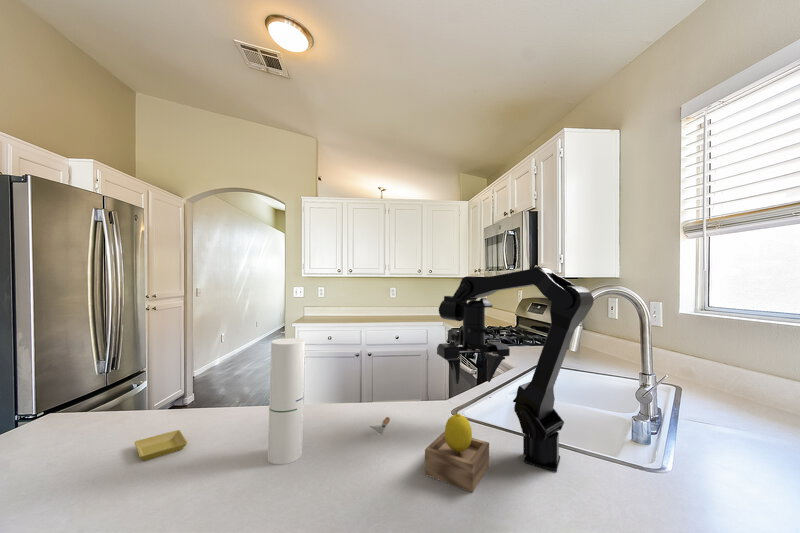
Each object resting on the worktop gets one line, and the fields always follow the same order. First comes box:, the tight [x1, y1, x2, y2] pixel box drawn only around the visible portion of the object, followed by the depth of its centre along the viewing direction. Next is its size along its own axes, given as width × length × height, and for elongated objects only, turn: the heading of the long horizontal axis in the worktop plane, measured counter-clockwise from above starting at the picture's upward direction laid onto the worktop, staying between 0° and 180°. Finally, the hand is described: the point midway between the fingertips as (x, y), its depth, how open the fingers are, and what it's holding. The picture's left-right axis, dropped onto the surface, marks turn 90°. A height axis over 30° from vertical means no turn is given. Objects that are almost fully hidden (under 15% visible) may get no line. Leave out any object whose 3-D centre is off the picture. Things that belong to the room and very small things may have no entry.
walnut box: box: [424, 430, 490, 493], centre depth 67 cm, size 10×10×5 cm
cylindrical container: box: [267, 338, 306, 465], centre depth 72 cm, size 7×7×25 cm
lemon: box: [444, 413, 473, 453], centre depth 67 cm, size 6×6×8 cm
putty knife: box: [369, 416, 391, 436], centre depth 85 cm, size 13×1×5 cm
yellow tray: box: [134, 429, 188, 462], centre depth 73 cm, size 9×9×2 cm
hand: (472, 382), depth 86 cm, fingers open, 9 cm apart
